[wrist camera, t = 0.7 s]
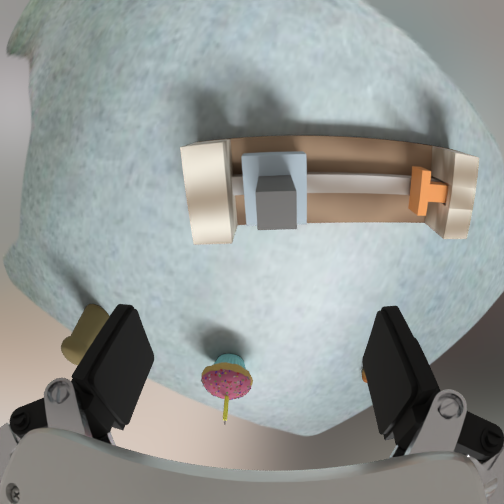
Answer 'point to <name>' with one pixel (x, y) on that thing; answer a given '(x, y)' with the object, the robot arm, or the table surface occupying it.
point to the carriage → (275, 189)
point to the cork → (84, 333)
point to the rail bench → (345, 162)
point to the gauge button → (425, 191)
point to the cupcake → (227, 379)
